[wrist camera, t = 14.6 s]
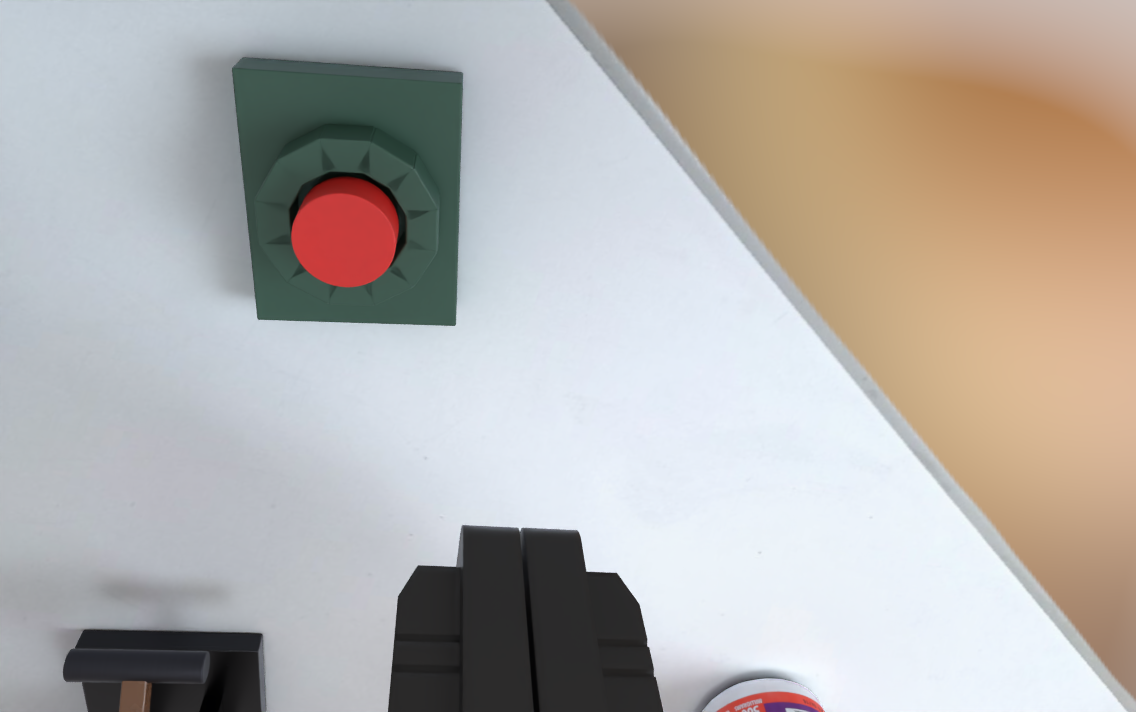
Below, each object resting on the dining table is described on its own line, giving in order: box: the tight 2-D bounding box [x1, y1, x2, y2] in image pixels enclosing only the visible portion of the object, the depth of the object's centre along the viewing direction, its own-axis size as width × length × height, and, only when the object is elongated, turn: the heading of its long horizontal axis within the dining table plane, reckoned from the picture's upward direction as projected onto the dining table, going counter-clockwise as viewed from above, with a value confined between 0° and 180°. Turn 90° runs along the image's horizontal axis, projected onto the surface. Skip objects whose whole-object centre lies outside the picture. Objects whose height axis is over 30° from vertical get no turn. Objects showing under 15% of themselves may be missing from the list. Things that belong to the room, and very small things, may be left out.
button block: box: [232, 58, 463, 326], centre depth 33 cm, size 10×8×4 cm
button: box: [291, 177, 399, 287], centre depth 31 cm, size 4×4×2 cm
